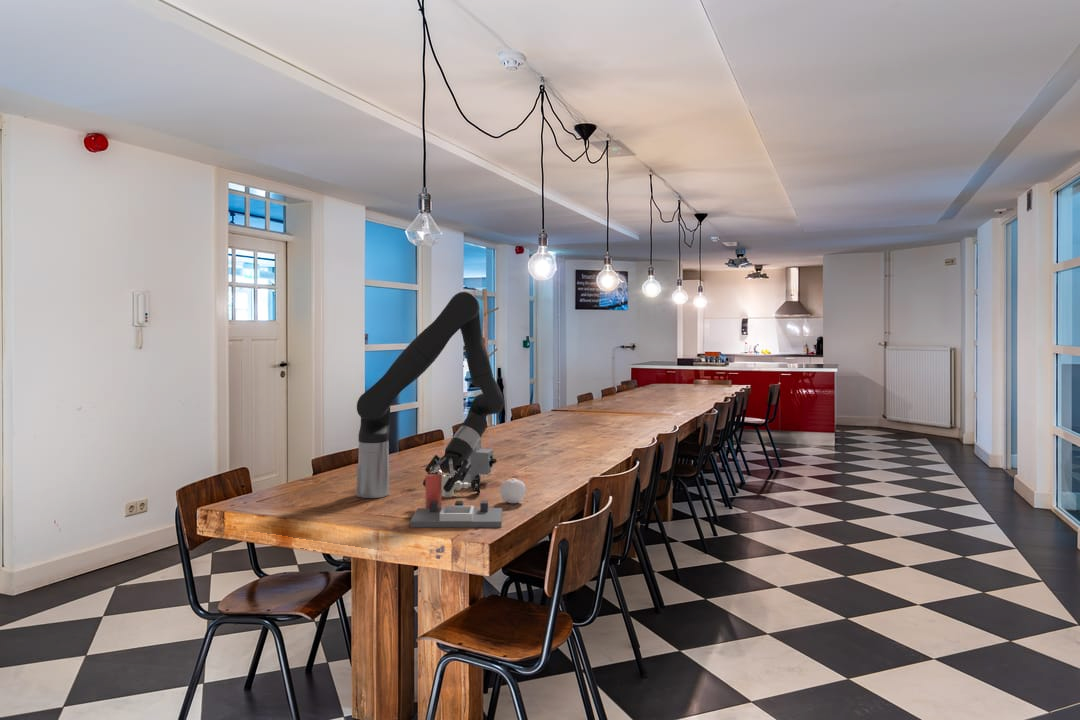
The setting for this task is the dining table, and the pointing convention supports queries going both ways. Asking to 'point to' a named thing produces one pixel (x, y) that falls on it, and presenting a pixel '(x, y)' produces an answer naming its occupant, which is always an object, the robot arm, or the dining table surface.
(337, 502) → the dining table surface
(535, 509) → the dining table surface
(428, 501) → the cap
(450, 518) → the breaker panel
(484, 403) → the robot arm
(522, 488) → the white folded ball
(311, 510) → the dining table surface
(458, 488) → the valve
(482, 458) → the circuit breaker
